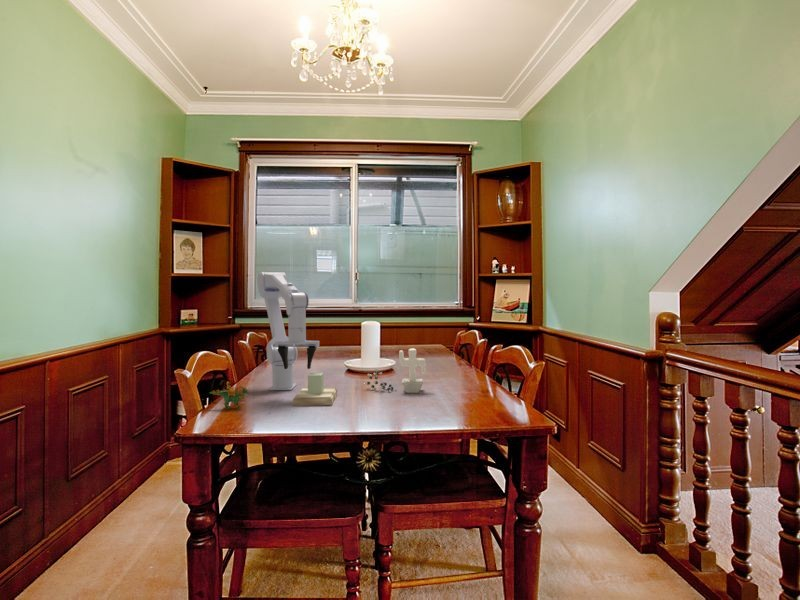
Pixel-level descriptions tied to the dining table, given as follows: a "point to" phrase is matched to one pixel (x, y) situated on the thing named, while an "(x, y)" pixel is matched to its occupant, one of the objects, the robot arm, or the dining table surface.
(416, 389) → the figurine
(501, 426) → the dining table surface
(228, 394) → the figurine
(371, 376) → the molecule model
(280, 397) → the dining table surface
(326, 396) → the birch base
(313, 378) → the sage block
